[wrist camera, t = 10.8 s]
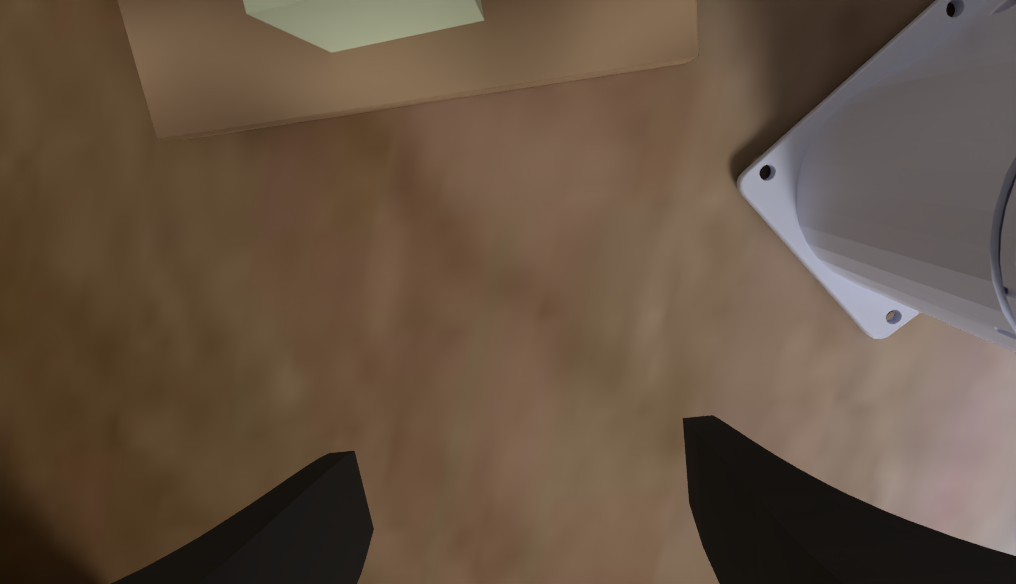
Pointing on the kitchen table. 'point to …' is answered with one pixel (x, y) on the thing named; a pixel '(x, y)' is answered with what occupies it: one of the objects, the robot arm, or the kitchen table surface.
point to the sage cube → (362, 19)
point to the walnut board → (382, 59)
